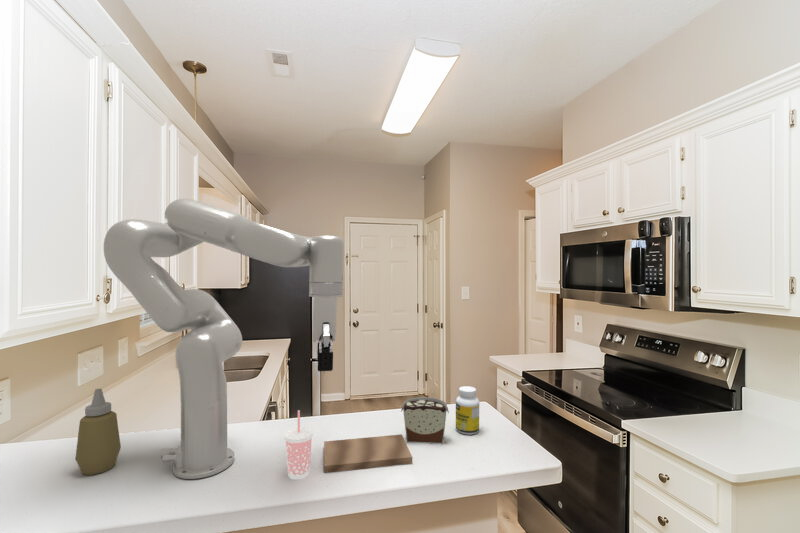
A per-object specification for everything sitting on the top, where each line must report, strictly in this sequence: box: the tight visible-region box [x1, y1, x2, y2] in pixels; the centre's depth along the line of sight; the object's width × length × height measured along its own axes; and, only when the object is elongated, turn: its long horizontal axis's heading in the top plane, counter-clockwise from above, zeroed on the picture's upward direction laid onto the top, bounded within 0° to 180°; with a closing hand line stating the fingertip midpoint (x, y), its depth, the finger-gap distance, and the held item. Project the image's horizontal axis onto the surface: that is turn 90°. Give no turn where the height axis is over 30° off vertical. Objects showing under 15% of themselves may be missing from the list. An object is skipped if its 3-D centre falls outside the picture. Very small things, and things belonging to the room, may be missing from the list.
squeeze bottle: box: [74, 388, 121, 476], centre depth 86 cm, size 8×8×18 cm
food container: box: [400, 396, 450, 445], centre depth 101 cm, size 12×6×10 cm, turn 85°
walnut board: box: [323, 434, 413, 474], centre depth 92 cm, size 20×12×2 cm, turn 101°
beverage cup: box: [284, 409, 314, 481], centre depth 84 cm, size 6×6×14 cm
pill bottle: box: [455, 385, 480, 436], centre depth 106 cm, size 6×6×12 cm
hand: (324, 364), depth 87 cm, fingers open, 9 cm apart
